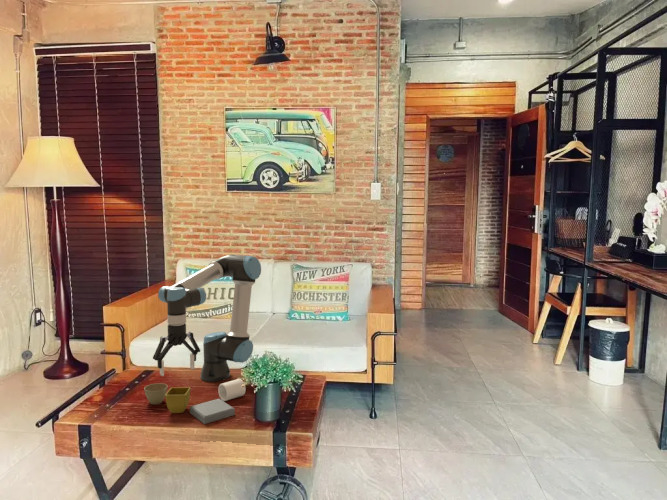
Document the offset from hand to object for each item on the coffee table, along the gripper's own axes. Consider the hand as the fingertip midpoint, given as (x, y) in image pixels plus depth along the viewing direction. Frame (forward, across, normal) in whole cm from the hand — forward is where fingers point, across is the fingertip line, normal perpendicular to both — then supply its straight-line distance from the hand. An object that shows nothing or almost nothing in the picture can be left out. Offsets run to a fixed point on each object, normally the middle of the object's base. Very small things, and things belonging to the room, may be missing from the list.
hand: (177, 371), depth 207 cm
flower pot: (+18, 0, 0) cm, 18 cm away
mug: (+18, -25, 0) cm, 31 cm away
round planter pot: (+18, +4, -15) cm, 24 cm away
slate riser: (+18, -10, +12) cm, 24 cm away
